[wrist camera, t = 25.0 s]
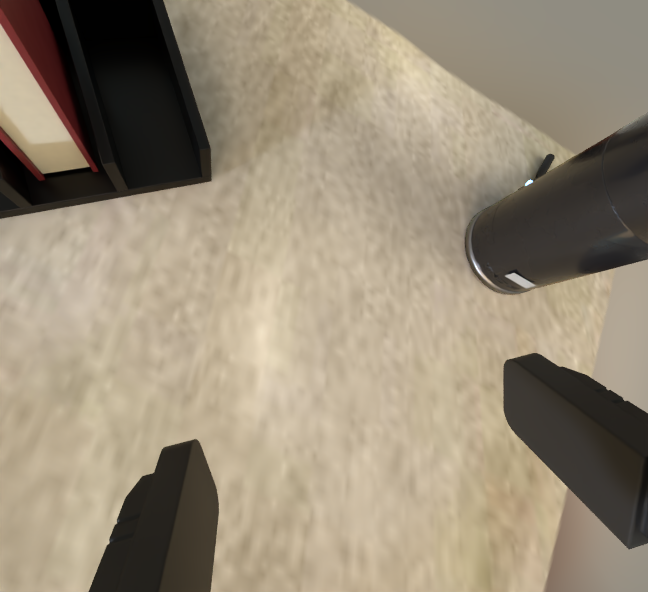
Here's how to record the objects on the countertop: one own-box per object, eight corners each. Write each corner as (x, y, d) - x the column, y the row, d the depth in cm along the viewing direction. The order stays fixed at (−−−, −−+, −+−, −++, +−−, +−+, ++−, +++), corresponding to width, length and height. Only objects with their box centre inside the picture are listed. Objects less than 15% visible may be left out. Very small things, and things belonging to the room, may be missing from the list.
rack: (-123, 54, 27) (-195, -14, 22) (166, 38, 33) (157, -18, 28) (-82, 233, 25) (-150, 202, 21) (211, 181, 32) (210, 148, 27)
